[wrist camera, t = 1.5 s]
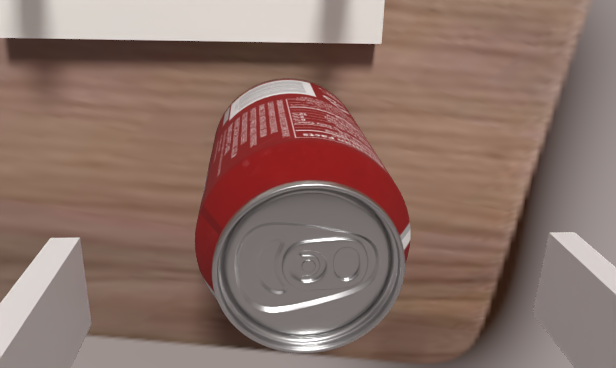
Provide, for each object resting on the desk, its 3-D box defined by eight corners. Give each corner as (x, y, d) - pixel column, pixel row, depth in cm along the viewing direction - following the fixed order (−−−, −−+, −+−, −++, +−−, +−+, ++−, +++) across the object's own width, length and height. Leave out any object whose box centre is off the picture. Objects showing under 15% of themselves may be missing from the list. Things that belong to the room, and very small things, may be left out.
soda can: (209, 78, 25) (175, 167, 14) (356, 72, 26) (434, 154, 15) (221, 213, 28) (200, 379, 17) (355, 205, 28) (421, 361, 17)
